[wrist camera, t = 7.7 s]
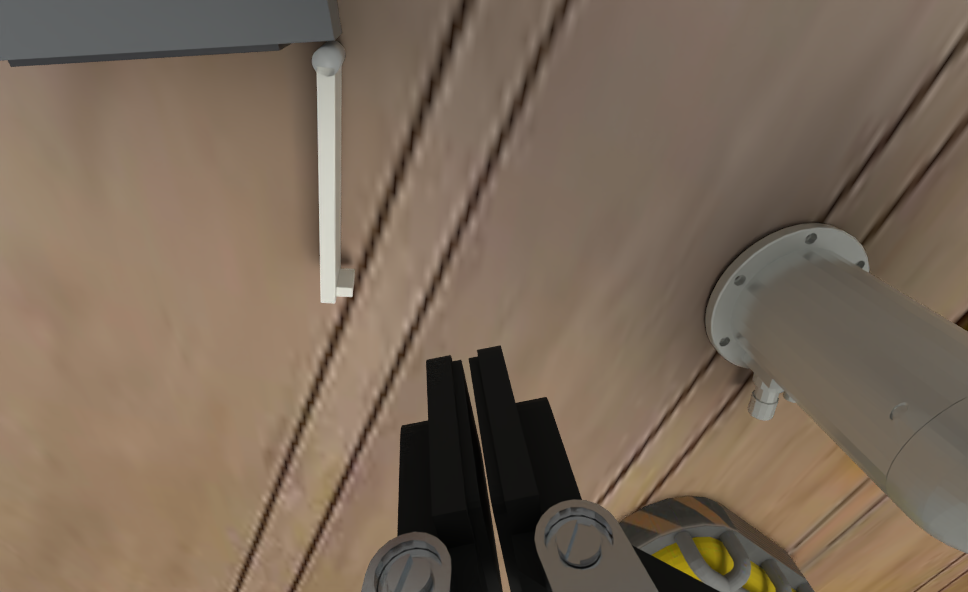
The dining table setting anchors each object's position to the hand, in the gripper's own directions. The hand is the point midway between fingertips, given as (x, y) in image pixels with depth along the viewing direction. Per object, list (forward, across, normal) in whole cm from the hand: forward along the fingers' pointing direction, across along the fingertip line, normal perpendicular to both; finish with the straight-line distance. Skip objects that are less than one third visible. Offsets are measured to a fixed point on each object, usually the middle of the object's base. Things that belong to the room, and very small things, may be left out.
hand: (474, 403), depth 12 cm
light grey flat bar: (+21, +6, 0) cm, 22 cm away
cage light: (+24, -20, +52) cm, 61 cm away
